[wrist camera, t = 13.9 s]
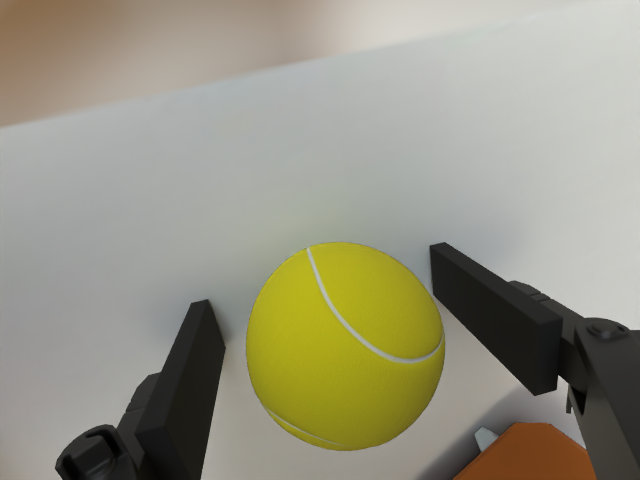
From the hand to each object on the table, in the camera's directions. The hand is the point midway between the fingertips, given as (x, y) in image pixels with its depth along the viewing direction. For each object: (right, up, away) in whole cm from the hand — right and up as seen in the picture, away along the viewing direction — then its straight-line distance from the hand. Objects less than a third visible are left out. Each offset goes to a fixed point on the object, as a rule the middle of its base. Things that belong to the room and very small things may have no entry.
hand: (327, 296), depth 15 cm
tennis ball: (0, 0, 0) cm, 0 cm away
